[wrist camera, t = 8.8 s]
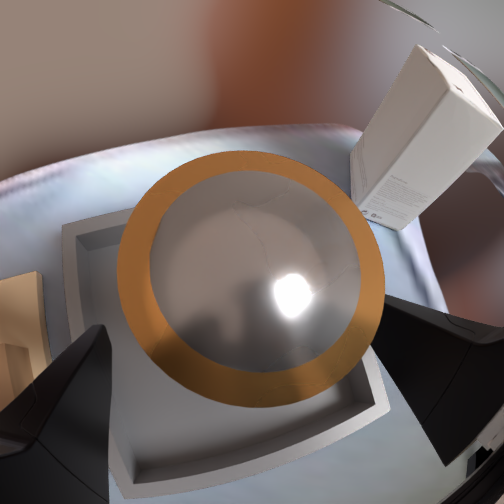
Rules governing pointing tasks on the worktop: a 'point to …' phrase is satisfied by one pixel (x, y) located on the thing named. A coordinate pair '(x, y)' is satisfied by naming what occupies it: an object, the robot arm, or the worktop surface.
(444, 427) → the robot arm
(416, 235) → the worktop surface
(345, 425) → the tray
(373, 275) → the pin
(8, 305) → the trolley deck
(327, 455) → the worktop surface
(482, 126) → the skincare box
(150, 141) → the worktop surface
